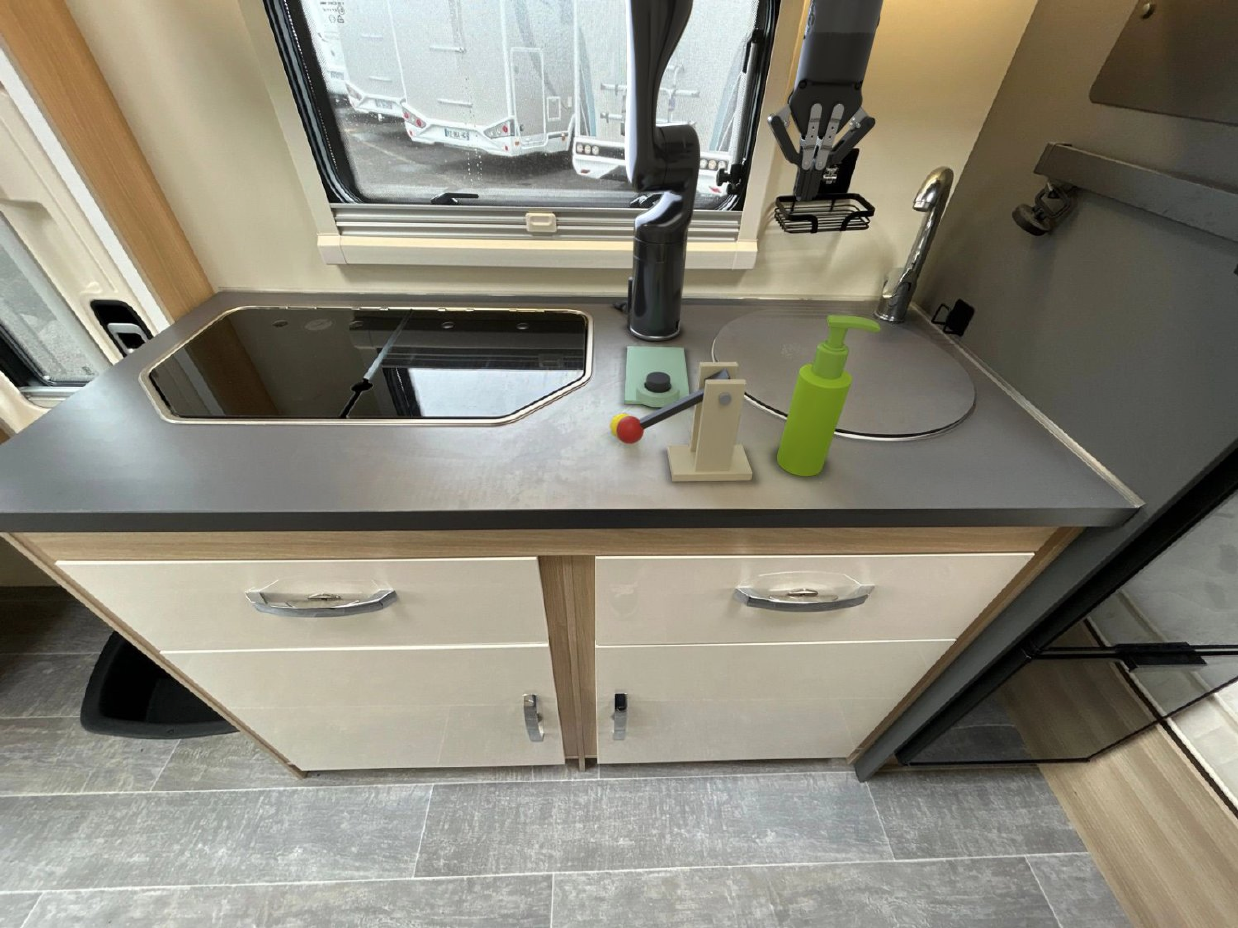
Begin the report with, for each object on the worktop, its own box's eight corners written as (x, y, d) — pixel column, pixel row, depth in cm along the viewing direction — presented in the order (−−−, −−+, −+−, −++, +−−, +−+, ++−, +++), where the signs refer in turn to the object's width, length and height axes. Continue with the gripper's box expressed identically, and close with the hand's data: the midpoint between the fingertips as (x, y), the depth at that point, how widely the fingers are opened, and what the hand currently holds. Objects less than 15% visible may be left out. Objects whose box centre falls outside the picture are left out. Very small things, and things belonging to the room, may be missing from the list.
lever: (625, 453, 64) (611, 434, 62) (624, 437, 67) (610, 418, 65) (740, 399, 60) (729, 377, 58) (733, 384, 63) (723, 362, 61)
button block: (627, 349, 94) (627, 336, 92) (683, 351, 93) (684, 338, 92) (623, 410, 78) (624, 395, 77) (690, 412, 78) (692, 398, 77)
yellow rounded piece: (613, 445, 71) (606, 421, 70) (616, 430, 77) (610, 408, 76) (637, 439, 71) (630, 415, 70) (639, 425, 76) (632, 402, 75)
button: (645, 381, 81) (646, 371, 80) (669, 382, 81) (670, 371, 80) (645, 393, 78) (646, 383, 77) (670, 394, 78) (671, 384, 77)
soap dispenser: (833, 480, 66) (886, 333, 54) (777, 472, 67) (816, 326, 55) (828, 452, 71) (876, 311, 58) (776, 446, 72) (812, 305, 59)
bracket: (672, 481, 66) (682, 386, 57) (667, 452, 70) (675, 360, 62) (751, 480, 66) (772, 385, 57) (740, 451, 71) (759, 359, 62)
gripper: (888, 30, 60) (845, 195, 71) (773, 28, 61) (748, 193, 72) (914, 29, 55) (863, 209, 66) (787, 27, 55) (757, 207, 66)
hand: (803, 200), depth 69 cm, fingers closed
